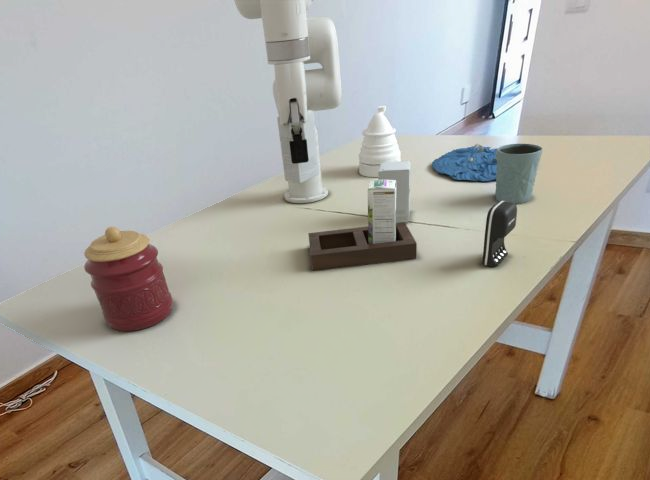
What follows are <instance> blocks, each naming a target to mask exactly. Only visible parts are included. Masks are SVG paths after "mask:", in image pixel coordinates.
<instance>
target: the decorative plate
mask: <svg viewBox="0 0 650 480" xmlns="http://www.w3.org/2000/svg"><path fill="white" fill-rule="evenodd" d="M497 149H498V148H497V147H495V148H492V146H483V145H480V144H479V143H476V144H474V146H468V147H461V148H456V149H452V150H451V151H448V152H446V153H445V154H442V155H441V156H439V157H438V158H435V159H434V160H433V161H432V163H431V167H432V168H433V169H434V170H436V172H437V173H439V174H445V175H447V176H448V175H449V177H450V178H451V179H453V180H459V181H462V180H465V181H473V182H474V181H476V182H488V181H493V180H496V176H497V175H496V172H497Z"/></svg>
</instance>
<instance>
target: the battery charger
mask: <svg viewBox="0 0 650 480" xmlns="http://www.w3.org/2000/svg"><path fill="white" fill-rule="evenodd" d="M517 215H518V206H517V204H514V203H512V202H505V201H497V202H495V203H494V205H492V206H491V207H490V208H489V209H488V211H487V214H486V219H485V221H486V222H485V230H484V239H483V252H482V259H481V264H482V265H484V266H491V267H498V266H499V265H500V264H501V263H502V262H503V261H504V260H505V259H506V258H507V257H508V255H509V253H508V251H507V248H506V246H505V238H506V237H507V236H508V235H509V234H510V233H511V232H512V231H513V230H514V229H515V227H516V226H517V217H518V216H517Z"/></svg>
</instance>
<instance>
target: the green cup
mask: <svg viewBox="0 0 650 480" xmlns="http://www.w3.org/2000/svg"><path fill="white" fill-rule="evenodd" d="M542 153H543V147H542V146H540V145H537V144H533V143H532V144H531V143H509V144H505V145H501V146H499V147H498V148H497V172H496V175H497V176H496V179H495V191H494V193H495V194H494V198H495V200H496V201H497V202H499V201H505V202H512V203H514V204H516V205H517V204H518V205H519V204H524V203H527V202H529V201H530V200H531V199H532V196H533V191H534V186H535V182H536V178H537V175H538V169H539V165H540V161H541V157H542Z"/></svg>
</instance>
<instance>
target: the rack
mask: <svg viewBox="0 0 650 480" xmlns="http://www.w3.org/2000/svg"><path fill="white" fill-rule="evenodd" d="M307 234H308V244H309V251H310V261H311V267H312V268H311V269H312V271H313V272H314V271H322V270H330V269H339V268H348V267H355V266H356V267H357V266H364V265H373V264H382V263H390V262H392V263H393V262H400V261H408V260H416V259H417V248H418V247H417V244H418V243H417V241H416V239H415V237H414V235H413V234H412V232H411V230H410V229H409V227H408V225H407V224H406V222H399V223H396V241H393V242H385V243H376V244H368V225H367V226H357V227H348V228H343V229H342V228H341V229H331V230H325V231H324V230H323V231H316V232H315V231H314V232H308V233H307Z"/></svg>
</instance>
